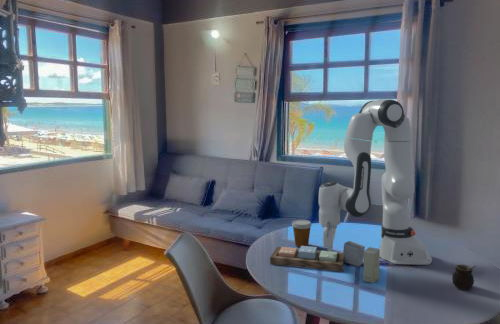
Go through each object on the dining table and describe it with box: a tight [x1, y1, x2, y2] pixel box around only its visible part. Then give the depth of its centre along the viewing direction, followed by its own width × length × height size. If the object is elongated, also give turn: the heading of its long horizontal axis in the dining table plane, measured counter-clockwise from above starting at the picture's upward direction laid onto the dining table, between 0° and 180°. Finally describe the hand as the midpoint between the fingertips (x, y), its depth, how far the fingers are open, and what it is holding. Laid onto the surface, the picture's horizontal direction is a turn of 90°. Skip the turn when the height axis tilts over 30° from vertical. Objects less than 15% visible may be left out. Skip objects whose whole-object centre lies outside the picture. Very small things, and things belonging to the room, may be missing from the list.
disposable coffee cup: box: [291, 219, 312, 248], centre depth 190 cm, size 10×10×12 cm
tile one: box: [319, 250, 337, 262], centre depth 168 cm, size 7×7×3 cm
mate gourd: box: [451, 264, 477, 291], centre depth 144 cm, size 7×8×10 cm
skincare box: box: [362, 246, 380, 284], centre depth 152 cm, size 6×4×12 cm
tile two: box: [298, 245, 318, 259], centre depth 171 cm, size 7×7×3 cm
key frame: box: [269, 246, 345, 272], centre depth 171 cm, size 31×13×3 cm, turn 72°
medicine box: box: [342, 240, 366, 267], centre depth 168 cm, size 8×4×9 cm, turn 46°
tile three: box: [278, 246, 298, 258], centre depth 174 cm, size 7×7×3 cm
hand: (330, 249), depth 168 cm, fingers closed
